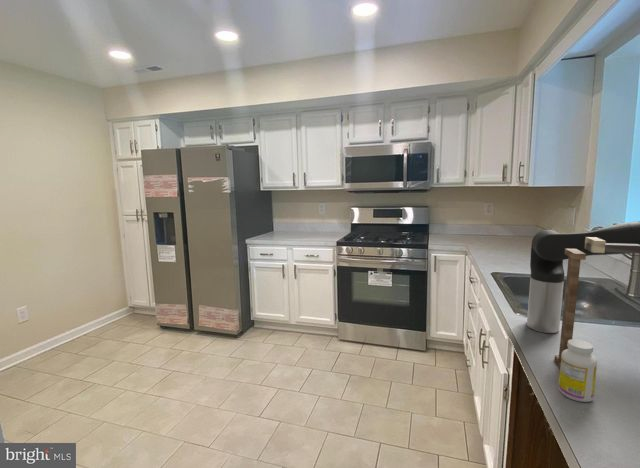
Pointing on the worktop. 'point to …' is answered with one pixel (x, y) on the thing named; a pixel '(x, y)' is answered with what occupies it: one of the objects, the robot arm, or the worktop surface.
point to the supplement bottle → (578, 371)
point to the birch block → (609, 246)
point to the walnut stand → (570, 299)
